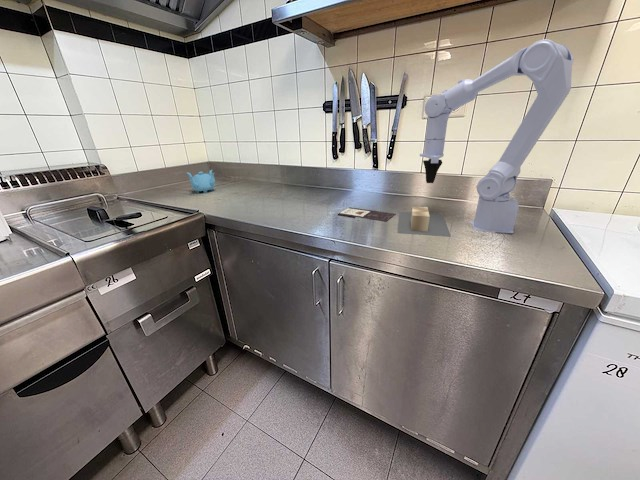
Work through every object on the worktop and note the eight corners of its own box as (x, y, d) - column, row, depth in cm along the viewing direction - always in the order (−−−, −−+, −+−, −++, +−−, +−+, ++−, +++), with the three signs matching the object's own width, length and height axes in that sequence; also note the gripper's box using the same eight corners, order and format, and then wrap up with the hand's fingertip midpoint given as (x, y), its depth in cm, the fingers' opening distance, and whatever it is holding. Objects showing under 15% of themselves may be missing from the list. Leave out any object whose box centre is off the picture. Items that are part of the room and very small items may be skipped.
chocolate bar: (386, 221, 85) (337, 214, 94) (386, 224, 85) (337, 216, 94) (396, 213, 91) (349, 207, 101) (396, 216, 92) (349, 209, 101)
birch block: (427, 207, 82) (429, 216, 74) (425, 220, 84) (427, 231, 76) (412, 206, 83) (412, 215, 75) (410, 220, 85) (411, 230, 77)
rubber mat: (442, 215, 90) (442, 213, 89) (450, 238, 72) (451, 236, 72) (399, 213, 94) (399, 211, 93) (397, 234, 76) (397, 233, 76)
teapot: (192, 195, 132) (187, 175, 128) (190, 190, 143) (186, 171, 139) (219, 191, 138) (215, 171, 133) (215, 187, 148) (212, 168, 144)
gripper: (420, 138, 91) (416, 178, 96) (422, 141, 78) (417, 187, 83) (442, 137, 89) (437, 178, 94) (448, 140, 76) (442, 187, 81)
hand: (429, 182), depth 89 cm, fingers closed
